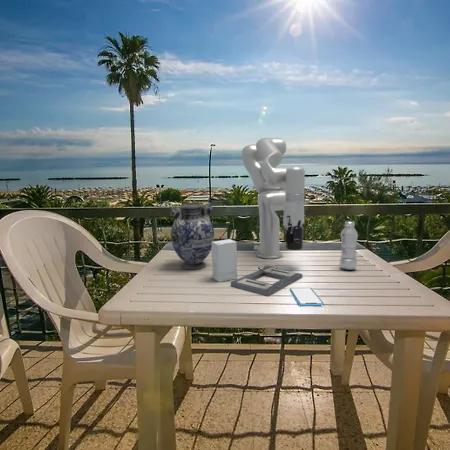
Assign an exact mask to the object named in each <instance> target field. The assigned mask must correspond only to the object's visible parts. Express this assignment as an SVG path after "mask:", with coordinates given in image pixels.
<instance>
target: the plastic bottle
mask: <svg viewBox="0 0 450 450" xmlns="http://www.w3.org/2000/svg"><path fill="white" fill-rule="evenodd" d="M355 224H356V222H355V220H354V221H353V220H345V221H344V228H343V229H342V230H341V232H340V239H341V241H340V242H341V252H340V253H341V254H340V259H339V266H340V268H341V269H343V270H347V271H352V270H356V268H357V267H358V266H357V265H358V260H357V242H358V237H359V234H358V231H357V230H356V227H355Z"/></svg>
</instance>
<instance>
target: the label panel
mask: <svg viewBox="0 0 450 450" xmlns="http://www.w3.org/2000/svg"><path fill="white" fill-rule="evenodd" d="M262 277H267V278H272V279H276V280H278V281H276V282H274V283H270V282H269V283H268V282H265V281H264V282H263V281H260V280H258V279H260V278H262ZM301 279H303V273H301V272H294V271H289V270H285V269H280V268H276V267H269V266H266V267H264V268H261V269H259V270H256V271H254V272H252V273H251V272H250V273H249V274H247V275H244V276H243V277H239V278H237V279H234V280H233V281H230V287H233V288H237V289H240V290H244V291H247V292H250V293H255V294H258V295H263V296H266V297H270V296H271V295H273V294H276V293H277V292H279V291H281V290H283V289H284V288H285V289H286V288H287V287H289V286H290V285H292V284H293V283H295V282H297V281H299V280H301Z"/></svg>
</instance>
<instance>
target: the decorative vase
mask: <svg viewBox="0 0 450 450" xmlns="http://www.w3.org/2000/svg"><path fill="white" fill-rule="evenodd" d="M169 211H170V217H173V218H174V220H173V224H172V225H171V230H170V237H171V238H170V239H171V244H172V247H173V249H174V252H175V253H176V255H177V256H178V257H179V259H180V260H182V261H183V262H182V264H181V268H182V269H185V270H192V271H193V270H199V269H203V268H205V267H206V266H207V265H206V263H205V262H204V261H205V259H206V258H208V256H209V254H210V252H211V251H212V245H211V242H214V241H215V240H214V239H215V230H214V229H215V228H214V225H213V224H212V222H211V219H210V215H211V212H213V204H212V203H211V202H206V203H205V204H203V205H202V204H201V202H197V201H196V202H195V201H194V202H183V203H182V204H181V205H180V207H179V206H177V205H174V206H171V208H170V209H169Z"/></svg>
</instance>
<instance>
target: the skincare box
mask: <svg viewBox="0 0 450 450" xmlns="http://www.w3.org/2000/svg"><path fill="white" fill-rule="evenodd" d="M237 243H238V242H237V241H236V240H233V239H230V238H228V239H223V240H216V241H215V240H214V241H213V242H211V245H212V248H211V265H212V278H213V279H214V280H215V281H216V282H218V283H222V282H226V281H231V280H237V279H238V256H237V255H238V253H237V252H238V251H237V248H238V246H237Z"/></svg>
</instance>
